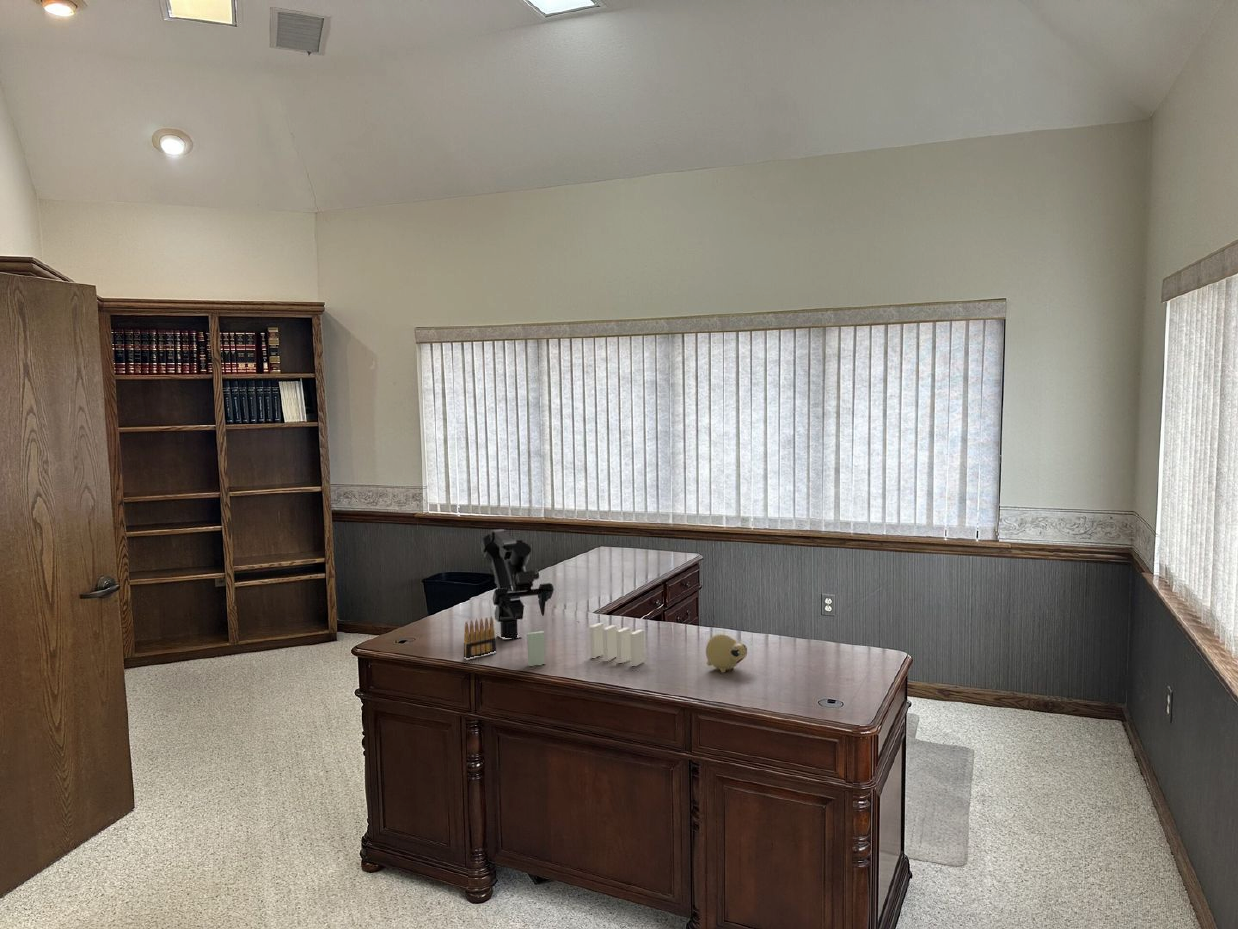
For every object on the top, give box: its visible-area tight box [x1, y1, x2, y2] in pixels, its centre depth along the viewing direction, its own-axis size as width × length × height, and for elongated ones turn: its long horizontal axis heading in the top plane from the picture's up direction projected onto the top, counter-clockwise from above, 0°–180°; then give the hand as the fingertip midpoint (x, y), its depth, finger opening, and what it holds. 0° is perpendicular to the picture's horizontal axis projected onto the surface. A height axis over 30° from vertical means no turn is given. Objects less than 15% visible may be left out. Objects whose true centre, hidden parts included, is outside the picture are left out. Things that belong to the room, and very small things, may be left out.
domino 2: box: [589, 622, 604, 658], centre depth 268 cm, size 2×5×10 cm, turn 146°
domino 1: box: [526, 630, 546, 667], centre depth 261 cm, size 2×5×10 cm, turn 112°
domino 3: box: [602, 624, 617, 661], centre depth 265 cm, size 2×5×10 cm, turn 146°
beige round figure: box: [705, 633, 748, 674], centre depth 252 cm, size 10×12×11 cm
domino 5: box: [630, 629, 645, 667], centre depth 260 cm, size 2×5×10 cm, turn 146°
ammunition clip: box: [463, 615, 497, 658], centre depth 271 cm, size 11×2×12 cm, turn 128°
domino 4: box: [616, 626, 631, 663], centre depth 262 cm, size 2×5×10 cm, turn 146°
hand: (529, 617), depth 267 cm, fingers open, 9 cm apart
